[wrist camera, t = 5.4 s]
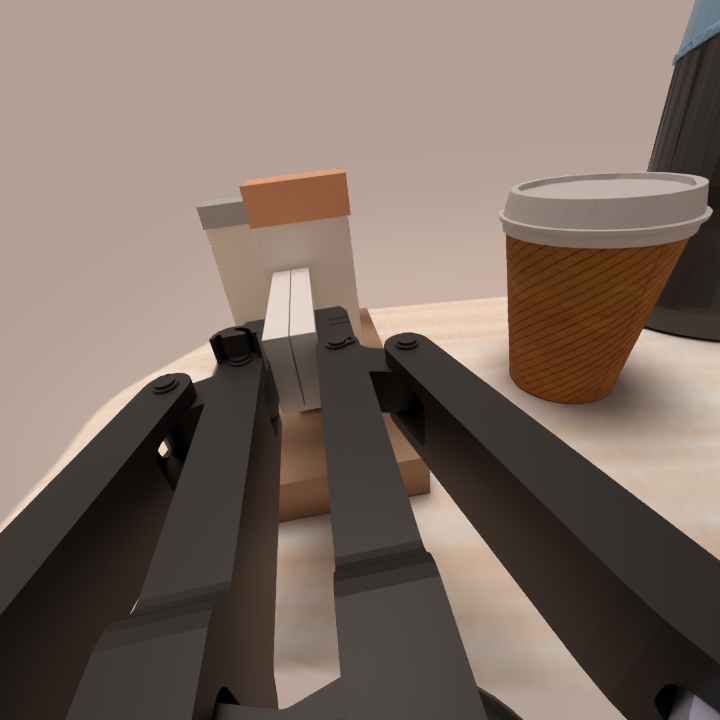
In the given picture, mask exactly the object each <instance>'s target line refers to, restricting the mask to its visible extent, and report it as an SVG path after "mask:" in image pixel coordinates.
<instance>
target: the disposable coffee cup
mask: <svg viewBox="0 0 720 720" xmlns="http://www.w3.org/2000/svg"><path fill="white" fill-rule="evenodd" d="M708 186H709V180H708V179H706V178H704V177H700V176H695V175H689V174H678V173H667V172H615V173H614V172H612V173H593V174H579V175H568V176H557V177H551V178H544V179H538V180H533V181H529V182H524V183H521V184H518V185H515V186H513V187H512V188H511V189H510V193H509V196H508V199H507V203H506V206H505V208H504V209H502V210H501V211H500V212H499V218H500V220H501V222H502V223H503V231H504V232H505V233H506V251H507V253H506V258H507V286H508V324H509V326H508V327H509V363H510V367H509V373H510V375H511V378H512V379H513V380H514V382H515V383H516V384H517V385H518V386H519V387H521V388H522V389H524V390H525V391H527V392H529V393H531V394H533V395H535V396H538V397H541V398H544V399H547V400H551V401H556V402H563V403H587V402H593V401H596V400H599V399H602V398H604V397H605V396H607V395H608V394H609V393H610V392H611V390H612V388H613V386H614V384H615V382H616V380H617V378H618V376H619V374H620V372H621V370H622V368H623V366H624V364H625V362H626V360H627V358H628V357H629V355H630V352H631V350H632V349H633V347H634V345H635V343H636V341H637V339H638V337H639V335H640V333H641V331H642V329H643V327H644V325H645V323H646V321H647V319H648V317H649V315H650V313H651V312H652V310H653V308H654V306H655V304H656V302H657V300H658V298H659V296H660V294H661V292H662V290H663V289H664V287H665V284H666V282H667V280H668V279H669V277H670V275H671V273H672V271H673V269H674V267H675V265H676V263H677V261H678V259H679V257H680V255H681V253H682V252H683V249H684V247H685V245H686V243H687V241H688V240H689V238H690V237H691V236H693V235H694V234H695V233H697V232H698V230H699V227H700V225H701V224H702V223H703V222H705V221H707V220H708V219H709V218H710V216H711V214H712V212H713V210H712V209H711V207H709V206H707V200H708Z"/></svg>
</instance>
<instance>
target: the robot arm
mask: <svg viewBox="0 0 720 720" xmlns="http://www.w3.org/2000/svg"><path fill="white" fill-rule="evenodd" d="M673 66H675V68H674V72H673V76H672V80H671V83H670V87H669V91H668V95H667V99H666V102H665V106H664V110H663V114H662V117H661V121H660V125H659V129H658V132H657V136H656V140H655V144H654V148H653V151H652V155H651V159H650V162H649V166H648V170H647V172H667V173H678V174H689V175H695V176H700V177H704V178H706V179H708V180H709V186H708V200H707V206H709V207H711V209H712V210H713V212H712V214H711V216H710V218H709V219H708V220H707V221H705V222H703V223H702V224H701V225H700V227H699V230H698V232H697V233H695V234H694V235H693V236H691V237H690V238H689V240H688V241H687V243H686V245H685V247H684V249H683V252H682V253H681V255H680V257H679V259H678V261H677V263H676V265H675V267H674V269H673V271H672V273H671V275H670V277H669V279H668V280H667V282H666V284H665V287H664V289H663V290H662V292H661V294H660V296H659V298H658V300H657V302H656V304H655V306H654V308H653V310H652V312H651V313H650V315H649V317H648V319H647V321H646V323H645V325H644V326H646V327H650V328H653V329H657V330H661V331H665V332H670V333H675V334H680V335H685V336H691V337H697V338H705V339H713V340H720V0H695V3H694V7H693V10H692V12H691V16H690V19H689V22H688V25H687V28H686V31H685V34H684V37H683V40H682V43H681V47H680V49H679V52H678V53H677V54H676V55H675V57H674V60H673ZM209 341H210V344H211V346H212V349H213V352H214V354H215V357H216V360H217V363H218V366H217V369H216V372H215V375H214V376H212V377H210V378H207V379H204V380H201V381H198V382H195V383H192V380H191V378H190V376H189V375H187V374H185V373H174V374H166V375H165V376H164V375H163V376H160V377H158V378H157V379H155V380H153V381H151V382H150V383H149V384H147V385H146V386H145V387H144V388H143V389H142V390H141V391H140V392H139V393H138V394H137V395H136V396H135V397H134V398H133V399H132V400H131V401H130V402H129V403H128V404H127V405H126V406H125V407H124V408H123V409H122V410H121V411H120V412H119V413H118V414H117V415H116V416H115V417H114V418H113V419H112V420H111V421H110V422H109V423H108V424H107V425H106V426H105V427H104V428H103V429H102V430H101V431H100V432H99V433H98V434H97V435H96V436H95V437H94V438H93V439H92V440H91V441H90V442H89V444H88V445H87V446H86V447H85V448H84V449H83V450H82V451H81V452H80V453H79V454H78V455H77V456H76V457H75V458H74V459H73V460H72V461H71V462H70V463H69V464H68V465H67V466H66V467H65V468H64V469H63V470H62V471H61V472H60V473H59V474H58V475H57V476H56V477H55V478H54V479H53V480H52V481H51V482H50V483H49V484H48V485H47V486H46V487H45V488H44V489H43V490H42V491H41V492H40V493H39V494H38V495H37V496H36V497H35V498H34V499H33V500H32V501H31V502H30V503H29V505H28V506H27V507H26V508H25V509H24V510H23V511H22V512H21V513H20V514H19V515H18V516H17V517H16V518H15V519H14V520H13V521H12V522H11V523H10V524H9V525H8V526H7V527H6V528H5V529H4V530H3V531H2V532H1V533H0V720H523V719H522V718H521V717H520V716H518V715H517V714H516V713H515V712H514V711H513V710H512V709H511V708H509V707H508V706H507V705H505V704H504V703H503V702H501V701H500V700H499V699H497V698H496V697H495V696H493V695H491V694H490V693H488V692H486V691H485V690H483V689H481V688H479V687H478V686H477V685H476V682H475V679H474V676H473V673H472V670H471V667H470V664H469V661H468V658H467V655H466V652H465V649H464V646H463V643H462V640H461V637H460V634H459V631H458V628H457V625H456V622H455V619H454V616H453V613H452V610H451V607H450V604H449V601H448V598H447V595H446V592H445V589H444V586H443V583H442V580H441V577H440V574H439V571H438V568H437V566H436V563H435V561H434V559H433V557H432V555H431V553H429V552H426V550H425V548H424V545H423V543H422V540H421V537H420V533H419V530H418V527H417V524H416V521H415V517H414V514H413V511H412V508H411V505H410V502H409V498H408V495H407V492H406V489H405V486H404V482H403V479H402V476H401V473H400V470H399V467H398V463H397V460H396V457H395V454H394V451H393V447H392V444H391V441H390V438H389V435H388V431H387V428H386V425H385V422H384V419H383V416H382V413H390V416H391V419H392V421H393V422H394V423H395V425H396V426H397V427H398V429H399V430H400V431H401V433H402V434H403V435H404V436H405V438H406V439H407V440H408V442H409V443H410V444H411V446H412V447H413V448H414V450H415V451H416V452H417V453H418V455H419V456H420V457H421V459H422V460H423V461H424V463H425V464H426V465H427V466H428V468H429V469H430V470H431V472H432V473H433V474H434V476H435V477H436V478H437V480H438V481H439V482H440V483H441V485H442V486H443V487H444V489H445V490H446V491H447V493H448V494H449V495H450V496H451V498H452V499H453V500H454V502H455V503H456V504H457V506H458V507H459V508H460V510H461V511H462V512H463V513H464V515H465V516H466V517H467V519H468V520H469V521H470V523H471V524H472V525H473V527H474V528H475V529H476V530H477V532H478V533H479V534H480V536H481V537H482V538H483V540H484V541H485V542H486V543H487V545H488V546H489V547H490V549H491V550H492V551H493V553H494V554H495V555H496V557H497V558H498V559H499V560H500V562H501V563H502V564H503V566H504V567H505V568H506V570H507V571H508V572H509V573H510V575H511V576H512V577H513V579H514V580H515V581H516V583H517V584H518V585H519V587H520V588H521V589H522V590H523V592H524V593H525V594H526V596H527V597H528V598H529V600H530V601H531V602H532V603H533V605H534V606H535V607H536V609H537V610H538V611H539V613H540V614H541V615H542V617H543V618H544V619H545V620H546V622H547V623H548V624H549V626H550V627H551V628H552V630H553V631H554V632H555V633H556V635H557V636H558V637H559V639H560V640H561V641H562V643H563V644H564V645H565V647H566V648H567V649H568V650H569V652H570V653H571V654H572V656H573V657H574V658H575V660H576V661H577V662H578V664H579V665H580V666H581V667H582V668H583V670H584V671H585V672H586V673H587V674H588V676H589V677H590V678H591V679H592V680H593V682H594V683H595V684H596V685H597V687H598V688H599V689H600V690H601V691H602V693H603V694H604V695H605V696H606V697H607V699H608V700H609V701H610V702H611V703H612V704H613V705H614V706H615V707H616V708H617V709H618V710H619V711H620V712H621V713H622V715H623V716H624V717H625V718H626V719H627V720H720V561H719V560H718V559H717V558H716V557H714V556H713V555H712V554H710V553H709V552H708V551H706V550H705V549H704V548H702V547H701V546H700V545H698V544H697V543H696V542H695V541H693V540H692V539H691V538H689V537H688V536H687V535H685V534H684V533H683V532H681V531H680V530H679V529H677V528H676V527H675V526H674V525H672V524H671V523H670V522H668V521H667V520H666V519H664V518H663V517H662V516H660V515H659V514H658V513H656V512H655V511H654V510H653V509H651V508H650V507H649V506H647V505H646V504H645V503H643V502H642V501H641V500H639V499H638V498H637V497H635V496H634V495H633V494H632V493H630V492H629V491H628V490H626V489H625V488H624V487H622V486H621V485H620V484H618V483H617V482H616V481H614V480H613V479H612V478H611V477H609V476H608V475H607V474H605V473H604V472H603V471H601V470H600V469H599V468H597V467H596V466H595V465H593V464H592V463H591V462H590V461H588V460H587V459H586V458H584V457H583V456H582V455H580V454H579V453H578V452H576V451H575V450H574V449H572V448H571V447H570V446H569V445H567V444H566V443H565V442H563V441H562V440H561V439H559V438H558V437H557V436H555V435H554V434H553V433H551V432H550V431H549V430H548V429H546V428H545V427H544V426H542V425H541V424H540V423H538V422H537V421H536V420H534V419H533V418H532V417H530V416H529V415H528V414H526V413H525V412H524V411H523V410H521V409H520V408H519V407H517V406H516V405H515V404H513V403H512V402H511V401H509V400H508V399H507V398H505V397H504V396H503V395H502V394H500V393H499V392H498V391H496V390H495V389H494V388H492V387H491V386H490V385H488V384H487V383H486V382H484V381H483V380H482V379H481V378H479V377H478V376H477V375H475V374H474V373H473V372H471V371H470V370H469V369H467V368H466V367H465V366H463V365H462V364H461V363H460V362H458V361H457V360H456V359H454V358H453V357H452V356H450V355H449V354H448V353H446V352H445V351H444V350H442V349H441V348H440V347H439V346H437V345H436V344H435V343H433V342H432V341H431V340H429V339H428V338H427V337H425V336H423V335H421V334H416V333H410V332H408V333H402V334H397V335H394V336H392V337H390V338H389V339H387V340H386V341H385V344H384V348H370V347H365V346H363V345H360V342H359V340H358V339H357V337H355V335H354V332H353V329H352V326H351V322H350V319H349V316H348V313H347V310H346V309H344V308H342V307H341V306H336V307H330V308H324V309H318V310H316V306H315V300H314V295H313V290H312V284H311V279H310V273H309V268H308V267H307V268H300V269H294V270H287V271H281V272H274V273H273V278H272V284H271V289H270V295H269V301H268V307H267V313H266V319H262V320H256V321H250V322H246V323H245V324H244V325H243V326H235V327H231V328H227V329H224V330H222V331H219V332H218V333H216V334H215V335H213V336H212V337H211V338H210V340H209ZM279 403H280V407H281V410H282V414H284V413H289V412H295V411H300V410H305V404H306V409H311V408H317V407H321V410H322V421H323V432H324V443H325V454H326V465H327V476H328V487H329V498H330V509H331V520H332V531H333V542H334V553H335V565H336V568H335V572H334V598H335V611H336V623H337V635H338V647H339V660H340V672H341V677H340V678H338V679H336V680H335V681H333V682H332V683H330V684H328V685H326V686H325V687H323V688H321V689H320V690H318V691H316V692H315V693H313V694H311V695H309V696H308V697H306V698H304V699H303V700H302V701H299V702H298V703H296V704H294V705H293V706H291V707H289V708H286V709H281V710H278V699H277V692H276V686H275V679H274V668H273V654H274V628H275V601H276V575H277V548H278V521H279V495H280V468H281V441H282V421H281V418H280V414H279ZM163 441H164V443H165V444H166V446H167V448H168V451H167V452H166V453H165V455H164V456H161V455H160V453H159V452H158V449H159V447H160V445H161V443H162V442H163ZM138 598H139V599H138ZM137 600H138V602H137ZM136 602H137V604H136ZM135 604H136V606H135V608H134V610H133V611H132V609H133V607H134V605H135ZM131 611H132V612H131ZM130 613H131V614H130Z"/></svg>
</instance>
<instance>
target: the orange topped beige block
mask: <svg viewBox="0 0 720 720" xmlns="http://www.w3.org/2000/svg"><path fill="white" fill-rule="evenodd" d="M239 187H240V191H241V195H242V199H243V203H244V207H245V211H246V215H247V219H248V223H249V227H250V229H253V231H254V235H255V239H256V243H257V247H258V251H259V255H260V259H261V263H262V267H263V271H264V275H265V279H266V283H267V287H268V291H269V295H270V289H271V284H272V278H273V273H274V272H281V271H287V270H294V269H300V268H307V267H308V268H309V273H310V279H311V284H312V290H313V295H314V300H315V306H316V310H318V309H324V308H330V307H336V306H341V307H342V308H344V309H346V310H347V313H348V316H349V319H350V322H351V326H352V329H353V332H354V335H355V337H357V339H358V340H359V342H360V345H363V339H362V331H361V322H360V314H359V305H358V297H357V288H356V280H355V272H354V263H353V254H352V246H351V237H350V229H349V221H348V215H350V207H349V197H348V189H347V180H346V172H344V171H342V170H340V169H339V168H336V169H327V170H320V171H312V172H305V173H297V174H289V175H282V176H274V177H266V178H259V179H251V180H248V181H246V182H245V183H244V184H242V185H241V186H239ZM317 408H320V407H317ZM311 409H315V408H311ZM305 410H309V409H306V404H305ZM300 411H304V410H300Z"/></svg>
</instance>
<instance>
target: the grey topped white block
mask: <svg viewBox="0 0 720 720" xmlns="http://www.w3.org/2000/svg"><path fill="white" fill-rule="evenodd" d="M197 210H198V213H199V216H200V220H201V222H202V226H203V229H204V230H206V232H207V235H208V238H209V241H210V245H211V248H212V251H213V254H214V257H215V260H216V264H217V267H218V270H219V273H220V276H221V280H222V283H223V286H224V289H225V292H226V296H227V299H228V301H229V305H230V308H231V311H232V314H233V318H234V321H235V324H236V326H243V325H244V324H245V323H246V322H250V321H256V320H262V319H266V313H267V307H268V301H269V291H268V287H267V283H266V279H265V275H264V271H263V267H262V263H261V259H260V255H259V251H258V247H257V243H256V239H255V235H254V231H253V229H250V227H249V223H248V219H247V215H246V211H245V207H244V203H243V199H242V196H241V197H234V198H226V199H219V200H211V201H206V202H205V203H203V204H201V205H200V206H198V207H197Z"/></svg>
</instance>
